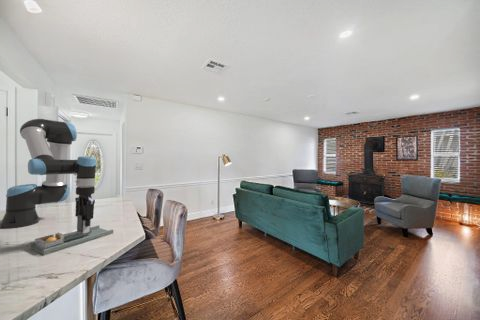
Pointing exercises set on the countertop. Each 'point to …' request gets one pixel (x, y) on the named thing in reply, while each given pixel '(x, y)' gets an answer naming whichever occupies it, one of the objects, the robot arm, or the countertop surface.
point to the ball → (51, 239)
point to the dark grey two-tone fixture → (76, 233)
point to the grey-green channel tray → (75, 240)
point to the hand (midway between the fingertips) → (83, 231)
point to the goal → (47, 243)
